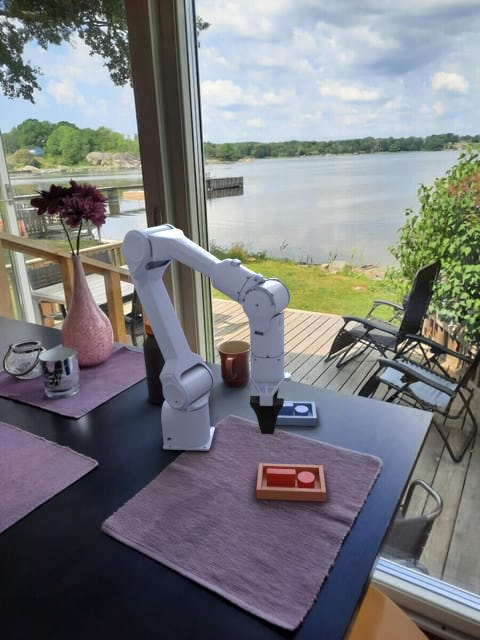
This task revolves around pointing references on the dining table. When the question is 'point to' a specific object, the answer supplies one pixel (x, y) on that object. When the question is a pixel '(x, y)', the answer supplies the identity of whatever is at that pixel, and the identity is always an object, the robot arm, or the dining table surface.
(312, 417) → the blue tray
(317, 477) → the terracotta tray
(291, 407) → the blue spoon
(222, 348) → the mug
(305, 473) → the red spoon
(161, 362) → the bottle
